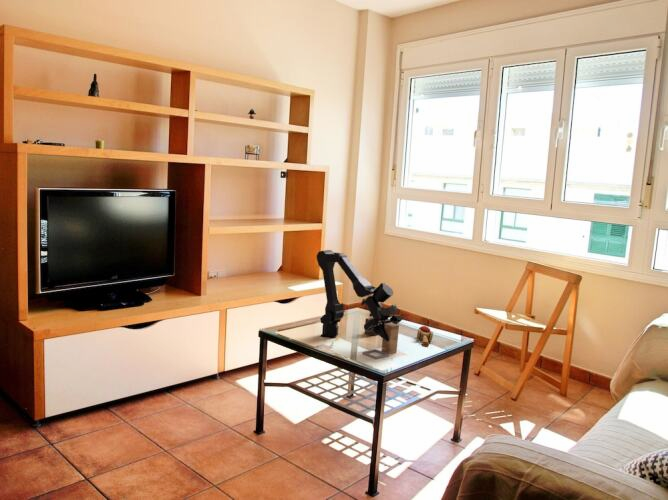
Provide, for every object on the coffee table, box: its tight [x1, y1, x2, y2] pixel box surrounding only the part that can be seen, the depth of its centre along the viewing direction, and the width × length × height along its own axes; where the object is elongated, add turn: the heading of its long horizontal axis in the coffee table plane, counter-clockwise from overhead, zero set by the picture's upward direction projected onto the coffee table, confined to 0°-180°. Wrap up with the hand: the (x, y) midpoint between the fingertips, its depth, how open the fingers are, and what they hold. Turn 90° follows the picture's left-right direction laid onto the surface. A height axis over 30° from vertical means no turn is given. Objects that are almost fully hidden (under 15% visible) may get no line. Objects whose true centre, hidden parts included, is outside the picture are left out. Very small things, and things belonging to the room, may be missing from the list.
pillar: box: [381, 323, 400, 355], centre depth 240 cm, size 4×4×12 cm
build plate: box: [355, 347, 408, 363], centre depth 238 cm, size 12×19×2 cm, turn 132°
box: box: [364, 317, 379, 337], centre depth 271 cm, size 6×6×7 cm
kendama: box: [416, 325, 434, 348], centre depth 264 cm, size 8×6×18 cm
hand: (392, 340), depth 239 cm, fingers closed on pillar, 4 cm apart
